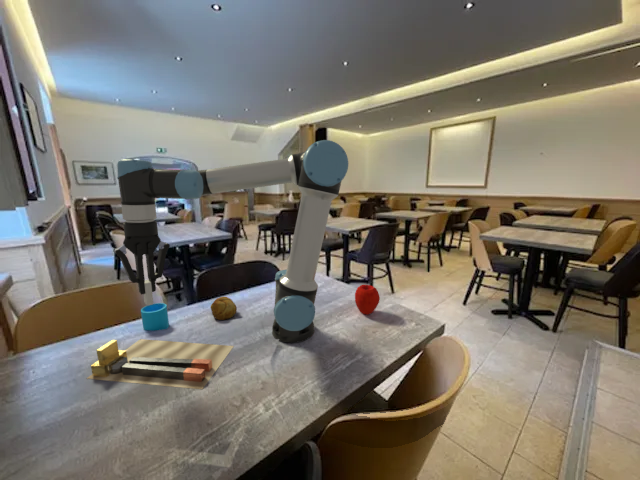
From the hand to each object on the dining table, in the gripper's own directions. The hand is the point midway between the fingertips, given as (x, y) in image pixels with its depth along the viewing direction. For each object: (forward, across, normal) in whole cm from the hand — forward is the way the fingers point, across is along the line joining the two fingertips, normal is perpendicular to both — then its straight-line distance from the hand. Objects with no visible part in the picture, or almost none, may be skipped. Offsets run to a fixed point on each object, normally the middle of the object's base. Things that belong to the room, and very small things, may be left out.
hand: (148, 303), depth 77 cm
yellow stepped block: (+18, +10, -5) cm, 21 cm away
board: (+20, -2, +3) cm, 20 cm away
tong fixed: (+18, +1, +7) cm, 19 cm away
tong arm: (+18, -2, +7) cm, 19 cm away
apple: (+18, -71, +26) cm, 78 cm away
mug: (+20, -8, -25) cm, 33 cm away
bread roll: (+20, -30, -15) cm, 39 cm away
